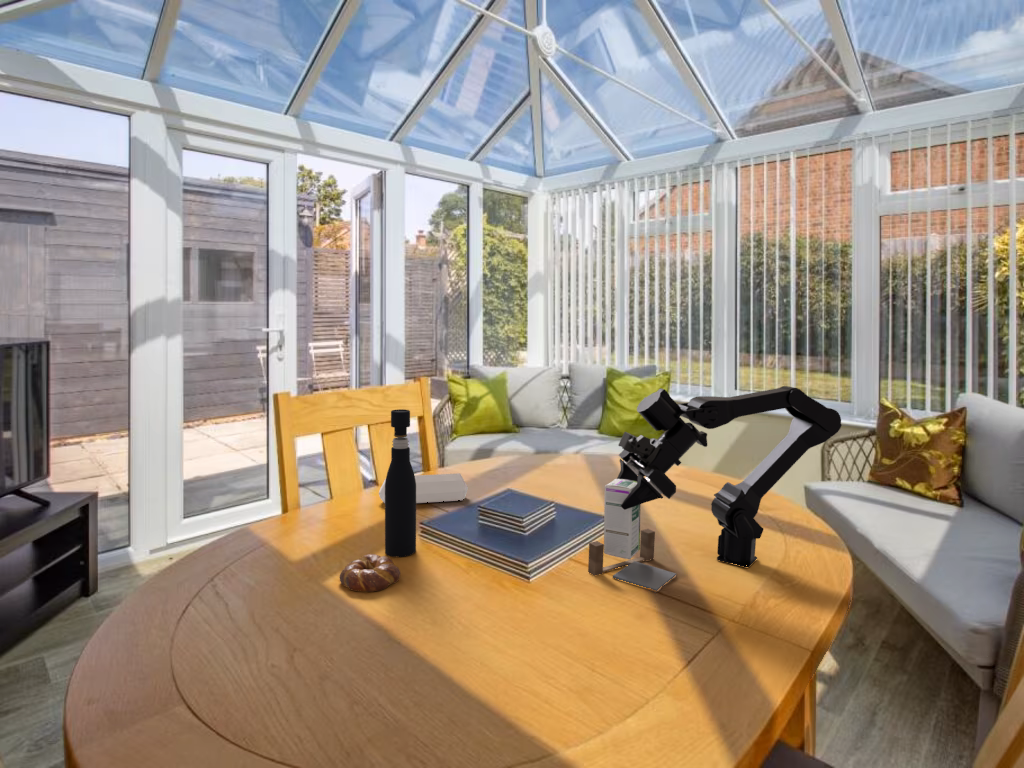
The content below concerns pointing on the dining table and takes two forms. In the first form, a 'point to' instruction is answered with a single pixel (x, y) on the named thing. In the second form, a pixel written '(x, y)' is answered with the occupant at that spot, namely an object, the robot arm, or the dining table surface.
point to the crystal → (436, 488)
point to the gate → (645, 554)
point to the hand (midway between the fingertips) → (616, 501)
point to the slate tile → (644, 575)
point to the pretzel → (369, 573)
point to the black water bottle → (400, 492)
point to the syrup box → (620, 521)
